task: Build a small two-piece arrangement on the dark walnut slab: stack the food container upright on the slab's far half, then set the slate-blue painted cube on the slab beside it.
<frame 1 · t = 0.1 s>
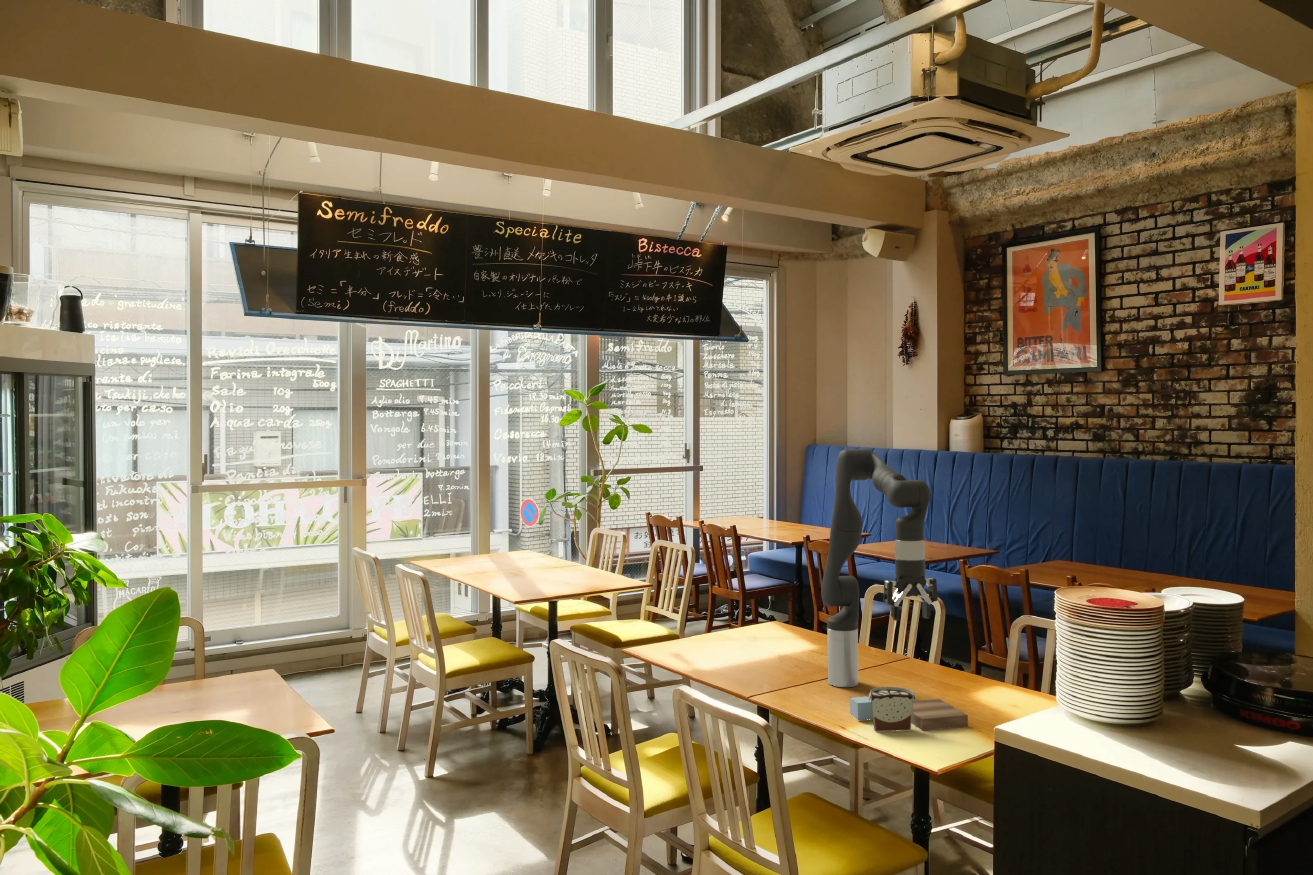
hand: (910, 619, 231), 29 cm above the table, tool pointing down, fingers open, 8 cm apart
slate cube: (862, 718, 242), on the table
food container: (889, 728, 234), on the table
walnut slab: (931, 719, 239), on the table
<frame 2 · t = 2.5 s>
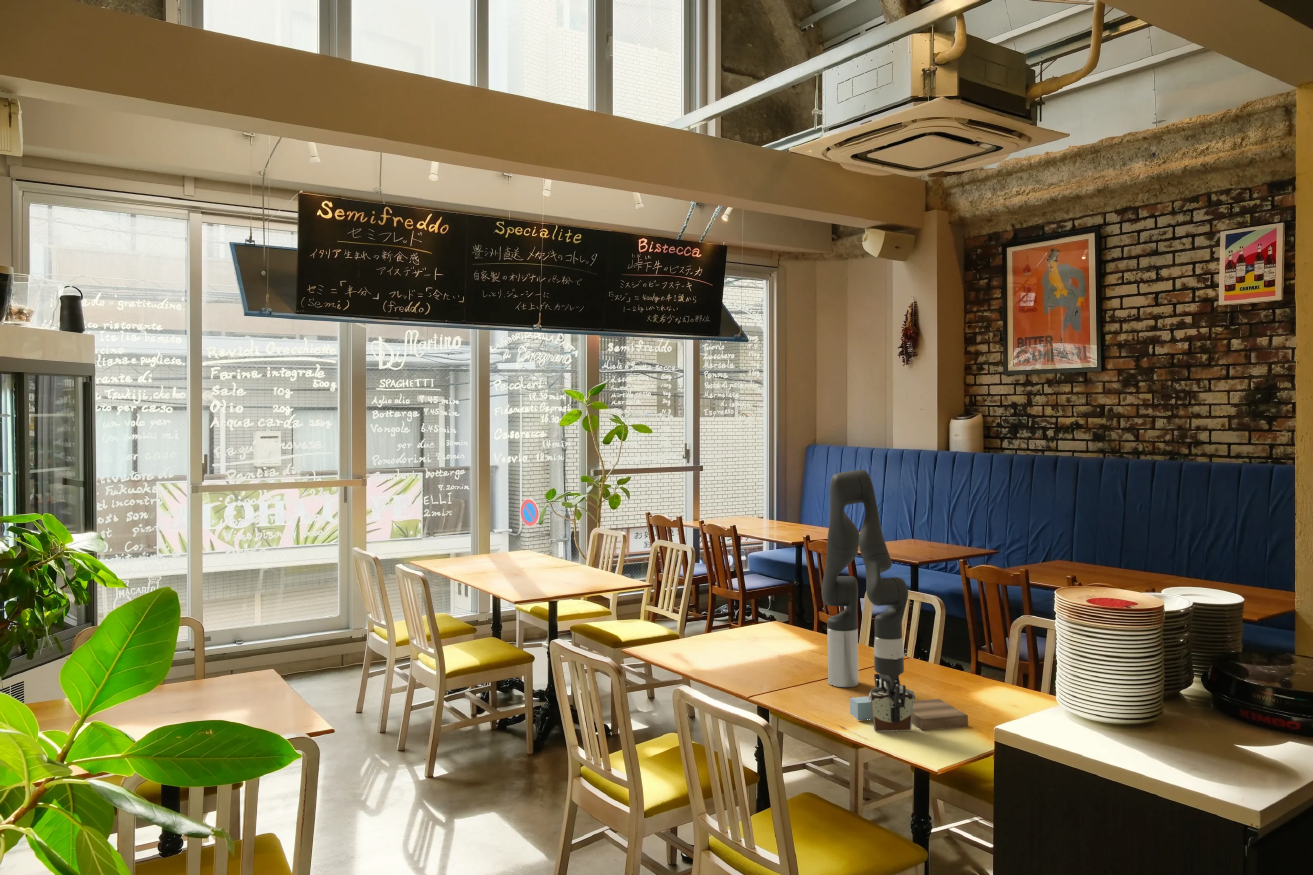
hand: (890, 718, 233), 3 cm above the table, tool pointing down, fingers closed on food container, 5 cm apart
food container: (889, 727, 234), on the table, touching gripper
everything else where it was.
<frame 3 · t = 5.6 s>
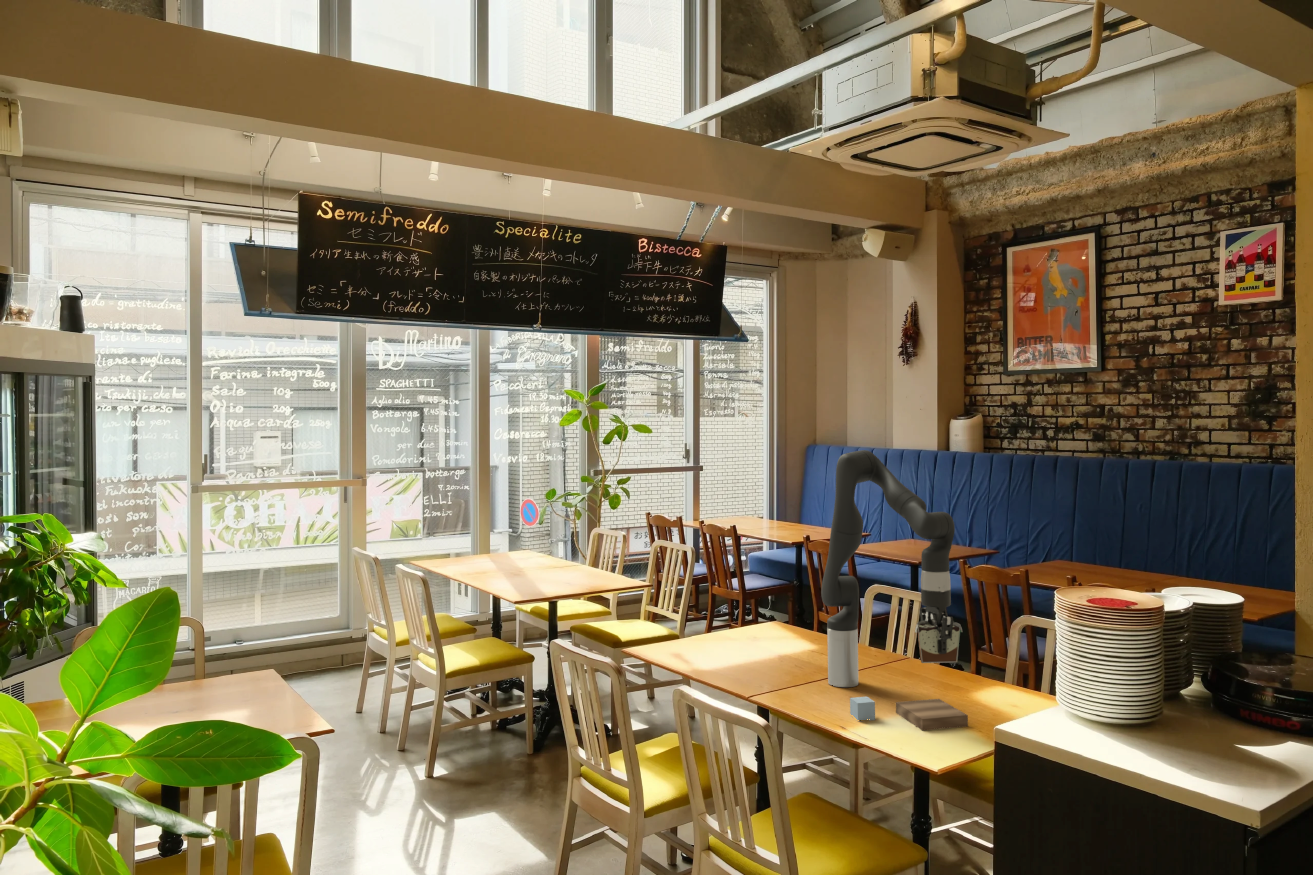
hand: (936, 650, 236), 19 cm above the table, tool pointing down, fingers closed on food container, 5 cm apart
food container: (935, 660, 237), point 17 cm above the table, touching gripper
everything else where it was.
when the fingers open (7 cm above the table, at t = 8.5 s): food container moves 1 cm, resting on walnut slab.
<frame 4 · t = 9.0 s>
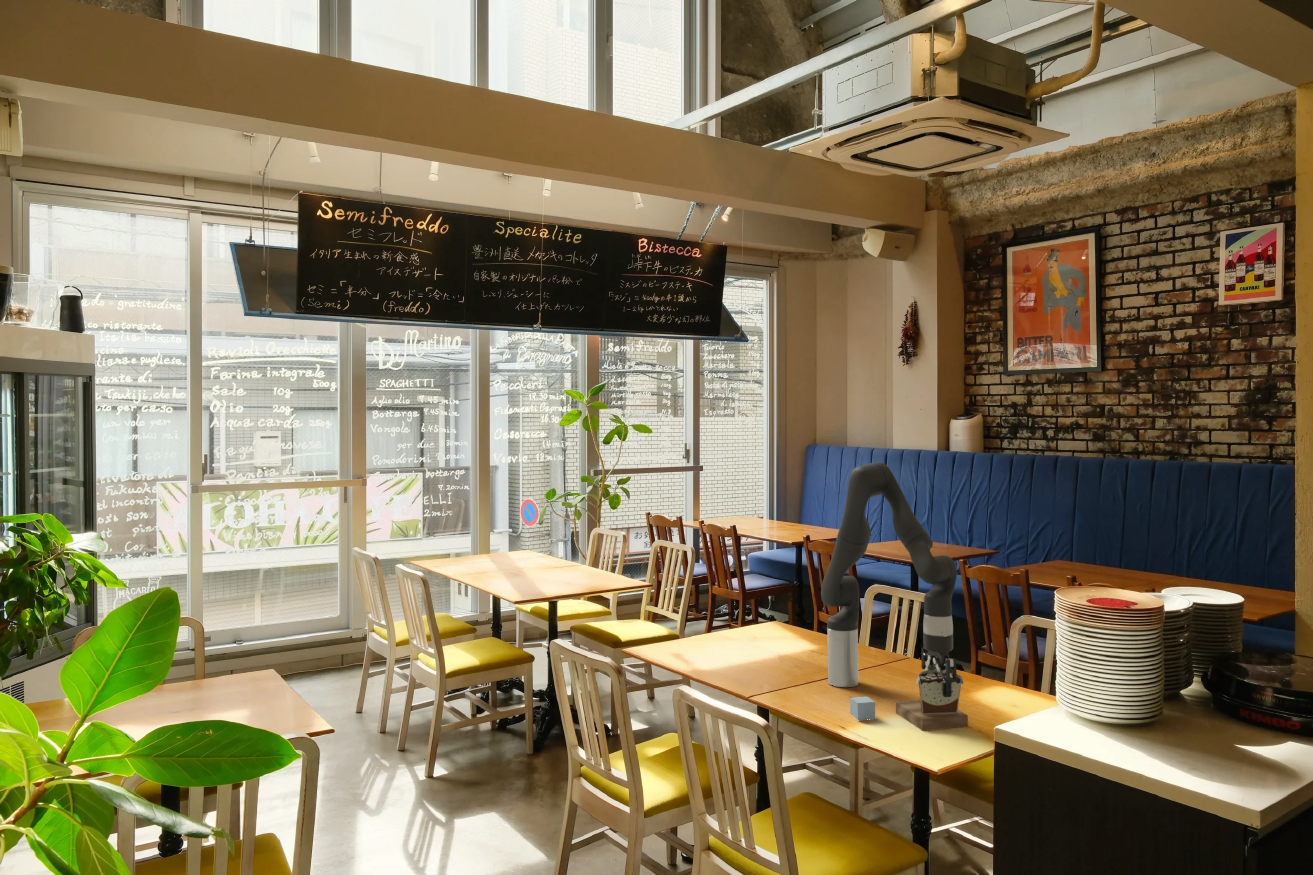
hand: (938, 692, 236), 8 cm above the table, tool pointing down, fingers open, 8 cm apart
food container: (935, 709, 238), point 3 cm above the table, touching walnut slab
everything else where it was.
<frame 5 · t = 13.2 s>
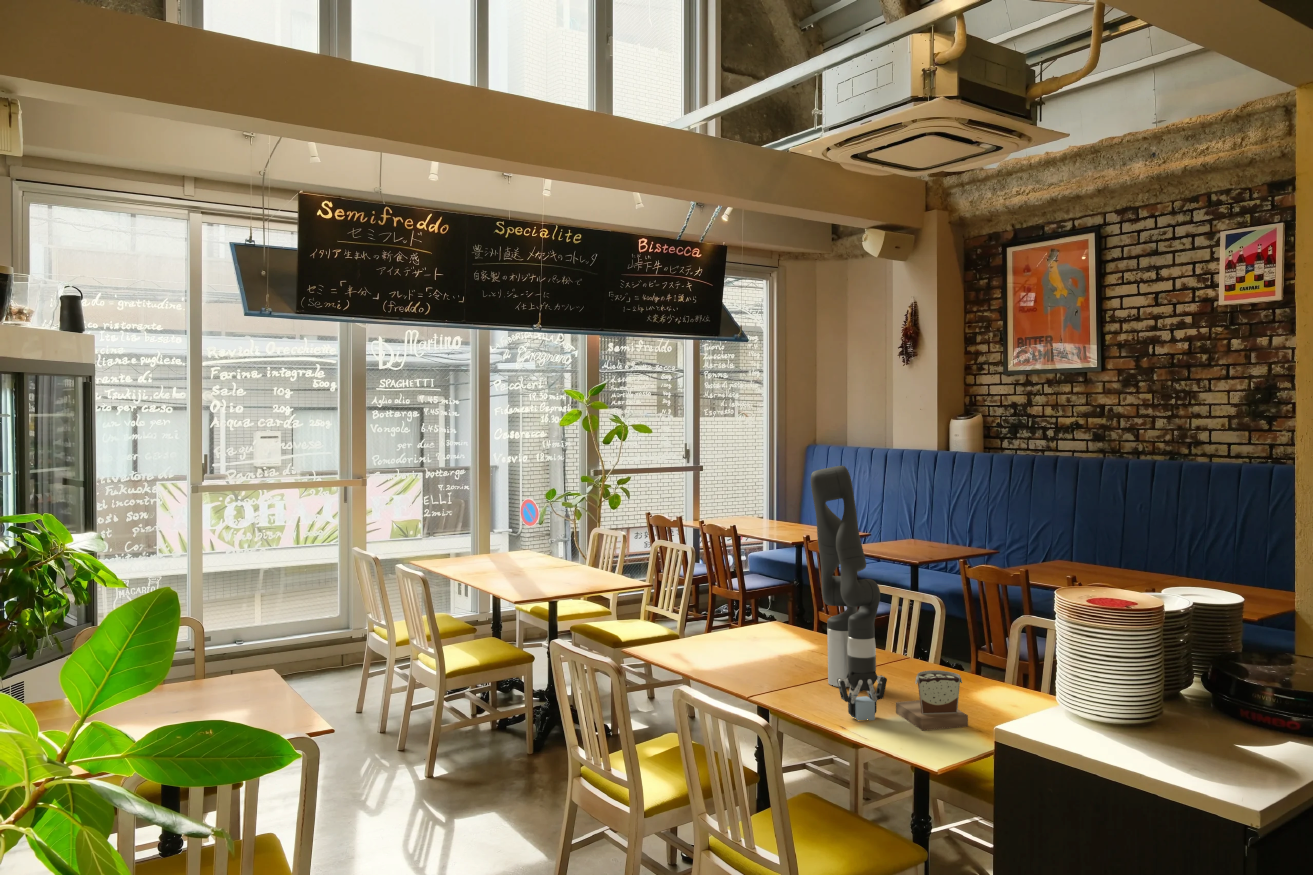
hand: (862, 715, 242), 1 cm above the table, tool pointing down, fingers closed on slate cube, 5 cm apart
slate cube: (862, 717, 242), on the table, touching gripper
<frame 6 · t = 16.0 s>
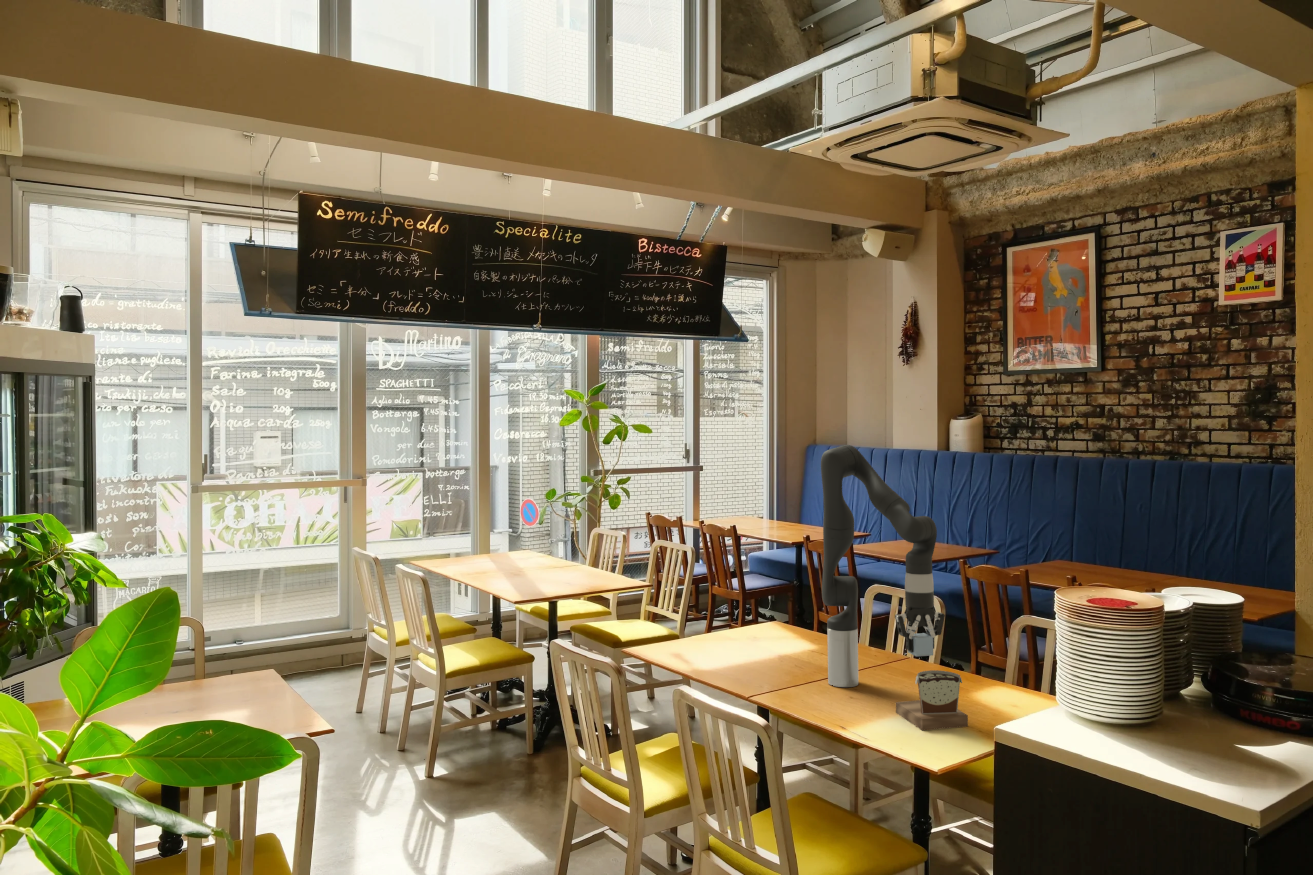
hand: (920, 651, 243), 18 cm above the table, tool pointing down, fingers closed on slate cube, 5 cm apart
slate cube: (920, 653, 243), point 17 cm above the table, touching gripper
everything else where it was.
when the fingers open (5 cm above the table, at t = 18.9 s): slate cube drops 1 cm, resting on walnut slab.
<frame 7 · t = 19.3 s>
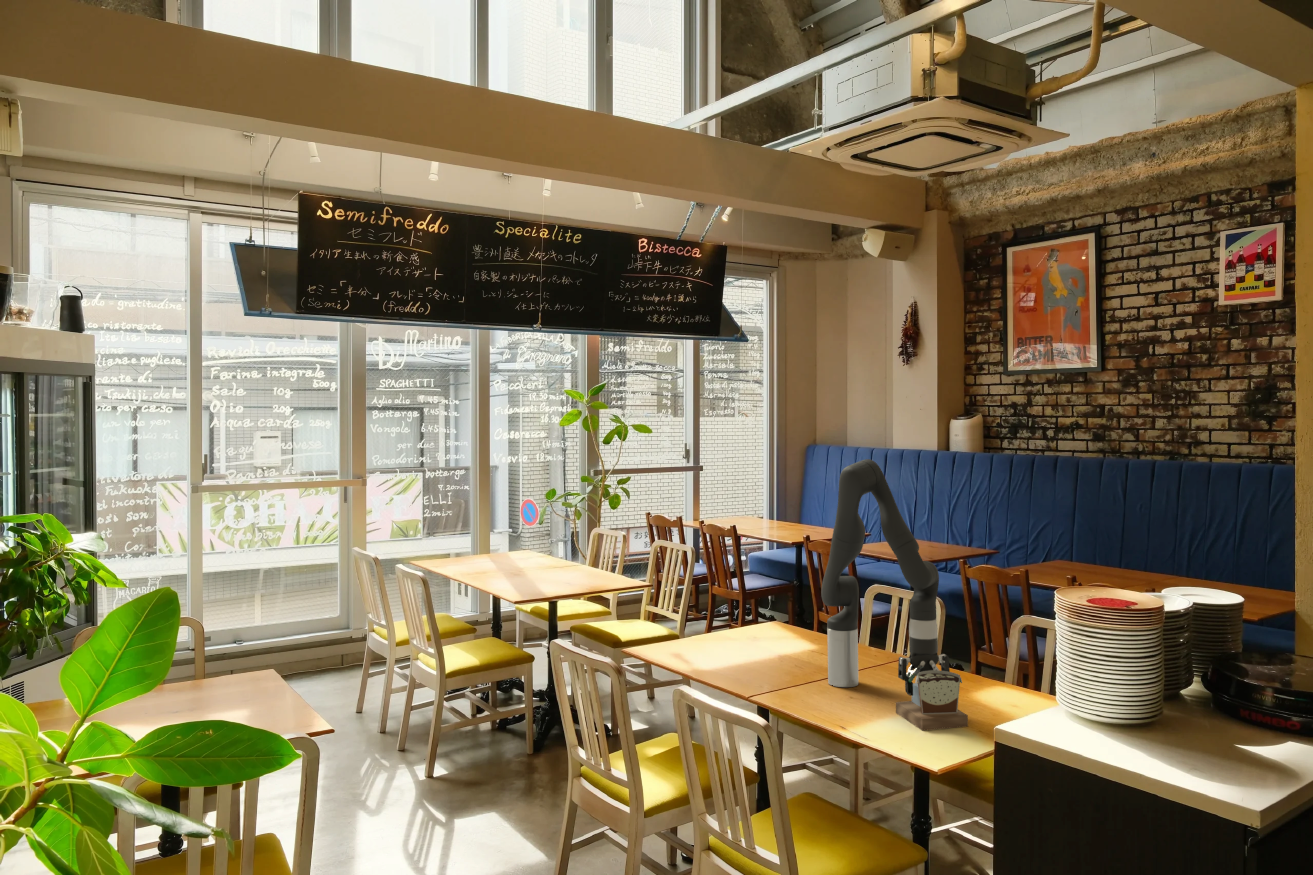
hand: (924, 693, 244), 6 cm above the table, tool pointing down, fingers open, 8 cm apart
slate cube: (924, 703, 244), point 3 cm above the table, touching walnut slab
everything else where it was.
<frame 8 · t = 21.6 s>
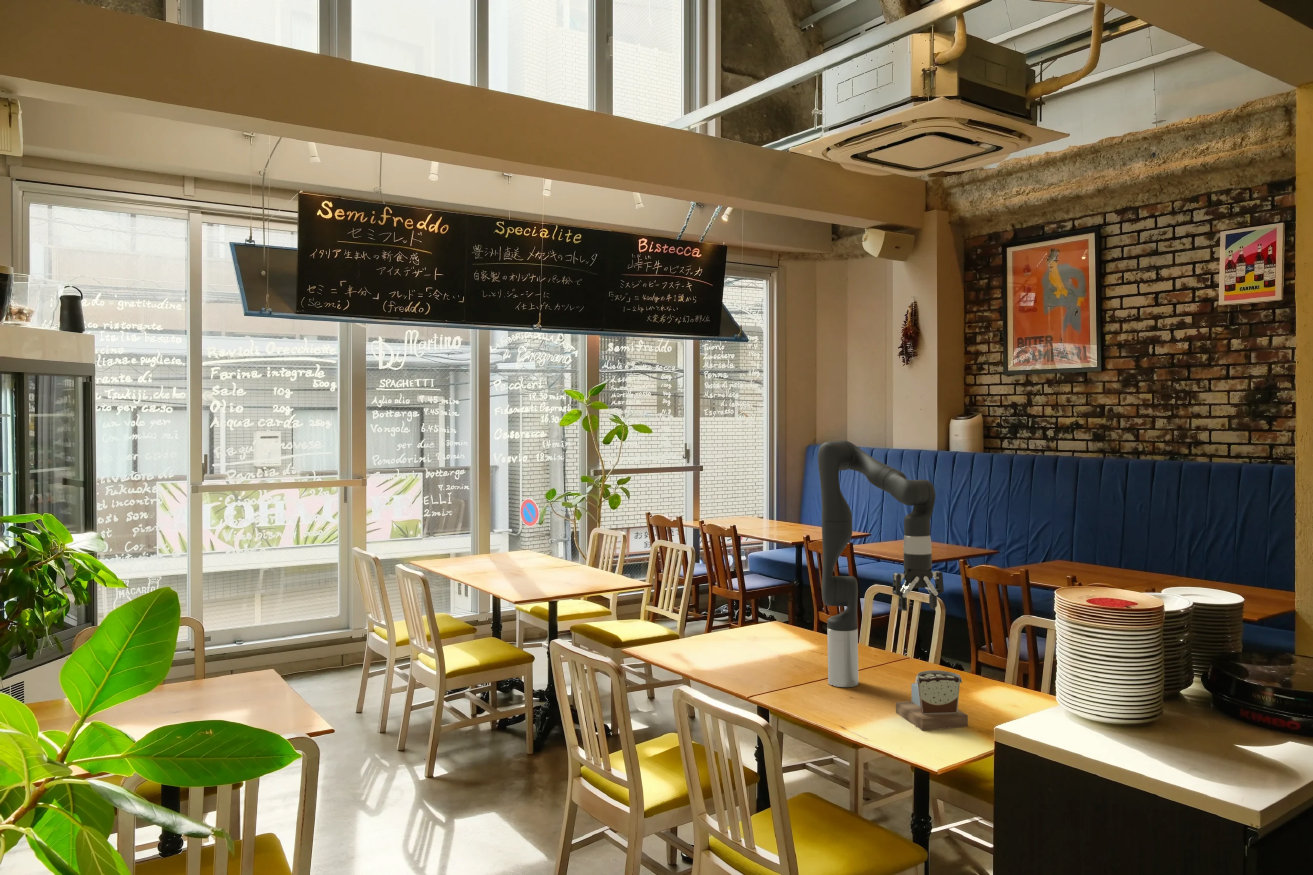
hand: (918, 609, 247), 28 cm above the table, tool pointing down, fingers open, 8 cm apart
nothing on the table moved.
at the end: food container inside the target area (1.8 cm from its centre), point 2.8 cm above the table; food container tilted 0°; slate cube inside the target area (0.0 cm from its centre), point 3.0 cm above the table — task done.
